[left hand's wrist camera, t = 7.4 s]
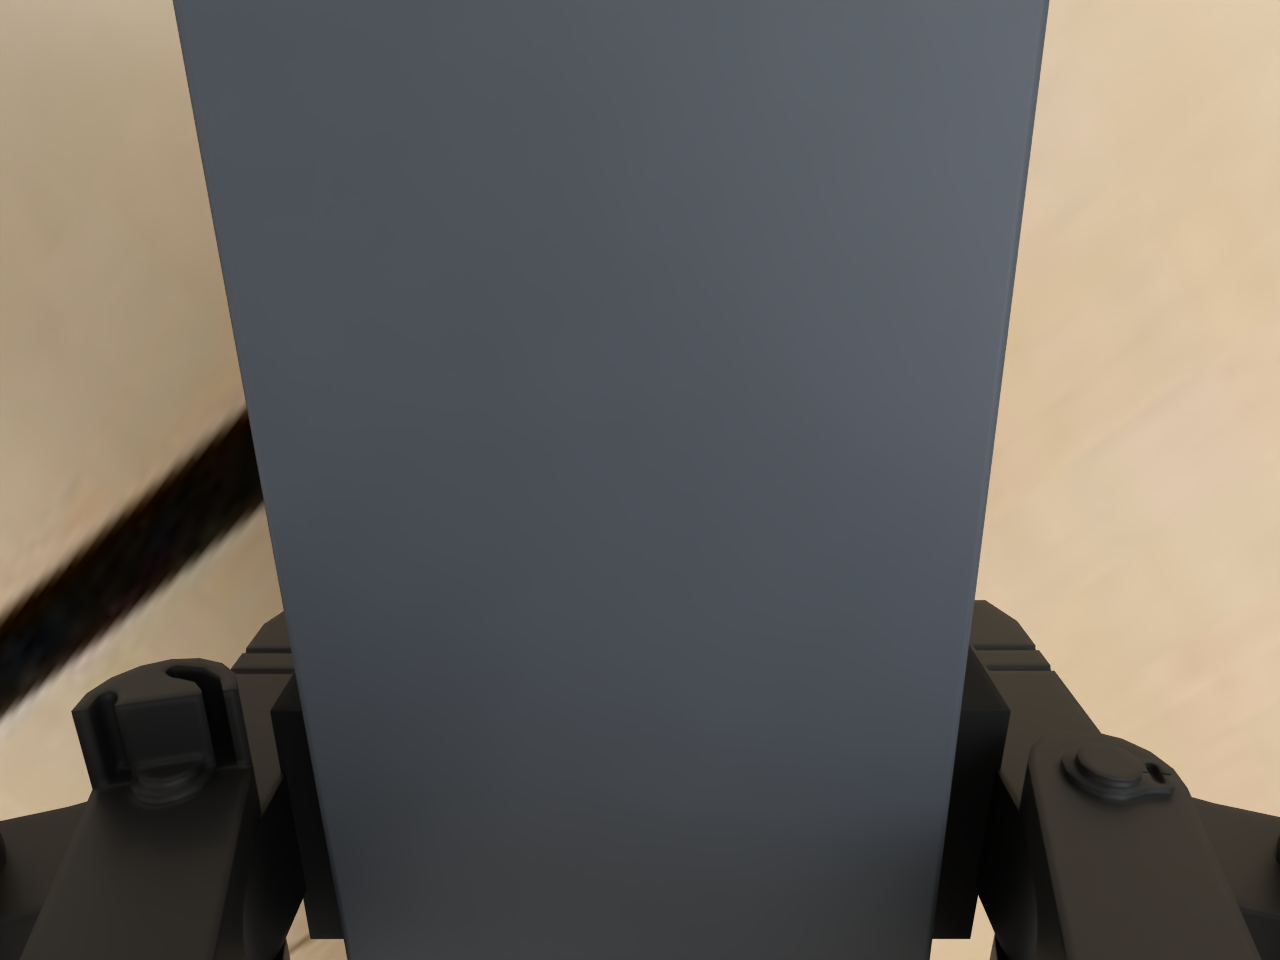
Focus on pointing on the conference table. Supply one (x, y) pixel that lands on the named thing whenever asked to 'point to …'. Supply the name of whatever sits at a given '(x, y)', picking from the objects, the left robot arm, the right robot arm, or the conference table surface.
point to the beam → (623, 447)
